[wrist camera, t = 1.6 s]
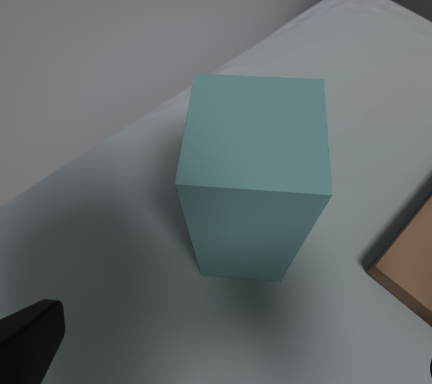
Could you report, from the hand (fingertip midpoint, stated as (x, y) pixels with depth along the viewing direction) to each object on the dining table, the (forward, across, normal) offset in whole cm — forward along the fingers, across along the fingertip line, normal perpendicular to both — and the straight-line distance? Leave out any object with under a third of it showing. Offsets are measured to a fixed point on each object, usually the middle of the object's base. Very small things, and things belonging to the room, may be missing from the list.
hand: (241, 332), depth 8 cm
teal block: (+14, 0, +4) cm, 14 cm away
